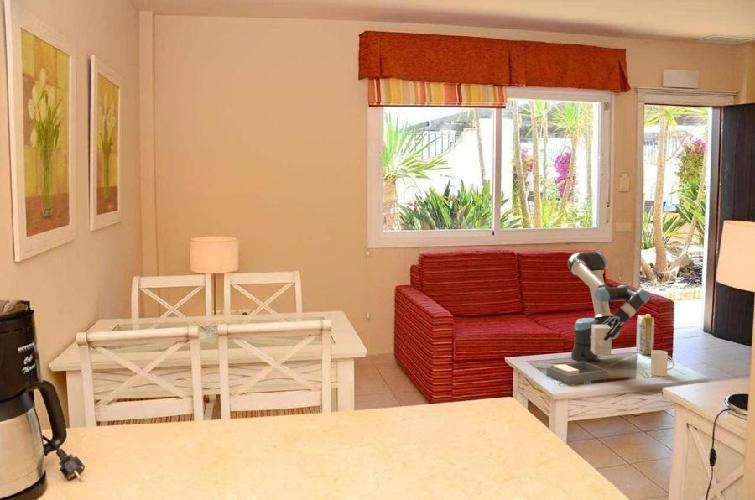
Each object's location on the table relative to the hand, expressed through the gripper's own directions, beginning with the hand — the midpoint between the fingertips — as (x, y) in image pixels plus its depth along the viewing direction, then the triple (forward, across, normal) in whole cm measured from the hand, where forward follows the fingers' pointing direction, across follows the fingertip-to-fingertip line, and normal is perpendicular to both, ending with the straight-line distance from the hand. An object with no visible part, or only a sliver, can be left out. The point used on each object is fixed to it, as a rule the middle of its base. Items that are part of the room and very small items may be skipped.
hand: (595, 341), depth 343 cm
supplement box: (+2, 0, -7) cm, 7 cm away
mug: (-12, -8, -36) cm, 38 cm away
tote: (+21, -11, -2) cm, 24 cm away
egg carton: (+26, -13, +3) cm, 29 cm away
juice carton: (-19, +34, -44) cm, 59 cm away
